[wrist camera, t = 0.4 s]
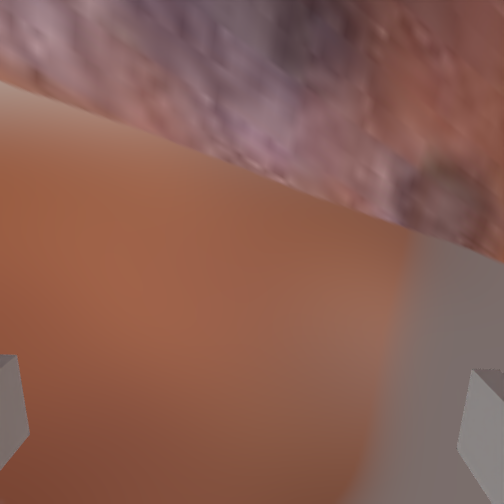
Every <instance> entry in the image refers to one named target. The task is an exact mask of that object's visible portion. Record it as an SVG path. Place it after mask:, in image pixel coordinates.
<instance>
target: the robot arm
mask: <svg viewBox="0 0 504 504" xmlns="http://www.w3.org/2000/svg"><path fill="white" fill-rule="evenodd" d="M29 434H30V433H29V426H28V421H27V415H26V408H25V402H24V396H23V390H22V384H21V377H20V371H19V365H18V359H17V355H0V470H1V469H2V468H3V466H4V465H5V464H6V463H7V461H8V460H9V459H10V458H11V457H12V455H13V454H14V453H15V452H16V451H17V449H18V448H19V447H20V445H21V444H22V443H23V442H24V440H25V439H26V438H27V437H28V436H29ZM457 450H458V452H459V454H460V455H461V457H462V458H463V460H464V461H465V463H466V464H467V466H468V467H469V469H470V470H471V472H472V474H473V475H474V477H475V478H476V480H477V481H478V483H479V484H480V486H481V487H482V489H483V490H484V492H485V493H486V495H487V496H488V498H489V500H490V501H491V503H492V504H504V373H502V372H501V371H500V370H494V369H492V370H491V369H472V372H471V377H470V383H469V388H468V393H467V398H466V403H465V408H464V413H463V419H462V424H461V429H460V434H459V439H458V444H457Z"/></svg>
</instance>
